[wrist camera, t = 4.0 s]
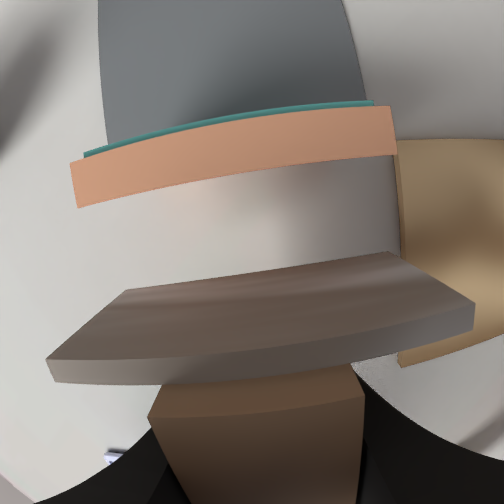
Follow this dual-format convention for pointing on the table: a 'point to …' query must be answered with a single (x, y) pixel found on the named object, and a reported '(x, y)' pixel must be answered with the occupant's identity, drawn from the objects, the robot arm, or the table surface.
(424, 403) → the table surface
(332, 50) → the slate mat
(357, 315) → the brown grey t-shaped block
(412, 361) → the oak board
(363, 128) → the tile
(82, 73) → the table surface
